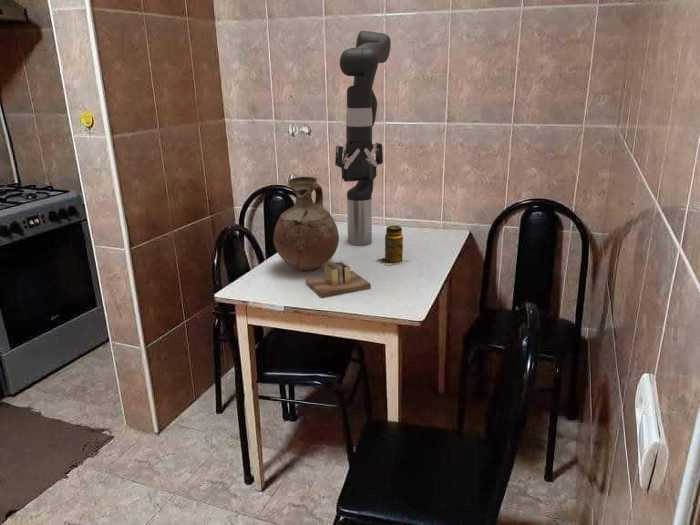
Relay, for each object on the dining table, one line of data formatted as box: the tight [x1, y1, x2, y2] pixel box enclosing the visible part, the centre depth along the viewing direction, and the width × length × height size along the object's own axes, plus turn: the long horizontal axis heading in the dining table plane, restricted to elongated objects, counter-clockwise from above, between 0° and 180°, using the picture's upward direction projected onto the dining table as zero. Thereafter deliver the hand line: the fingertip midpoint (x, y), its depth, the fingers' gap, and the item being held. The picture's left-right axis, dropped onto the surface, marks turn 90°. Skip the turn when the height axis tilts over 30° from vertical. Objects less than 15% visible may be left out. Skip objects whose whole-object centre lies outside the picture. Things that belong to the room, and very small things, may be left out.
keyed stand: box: [305, 264, 372, 299], centre depth 162 cm, size 13×16×6 cm
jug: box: [272, 175, 340, 273], centre depth 175 cm, size 22×22×30 cm
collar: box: [323, 261, 352, 286], centre depth 162 cm, size 6×6×5 cm
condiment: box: [376, 225, 408, 267], centre depth 183 cm, size 7×8×12 cm
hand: (359, 180), depth 159 cm, fingers open, 8 cm apart
